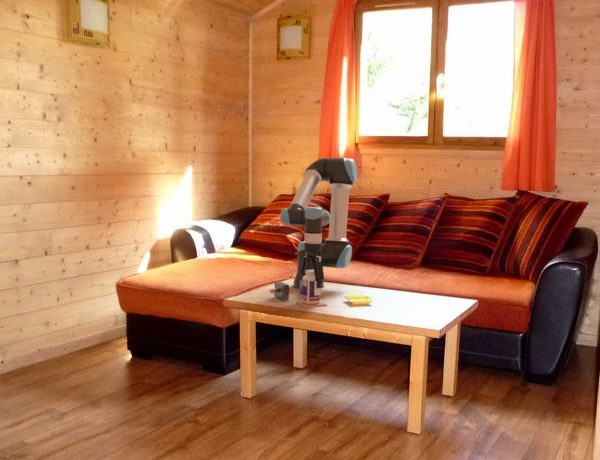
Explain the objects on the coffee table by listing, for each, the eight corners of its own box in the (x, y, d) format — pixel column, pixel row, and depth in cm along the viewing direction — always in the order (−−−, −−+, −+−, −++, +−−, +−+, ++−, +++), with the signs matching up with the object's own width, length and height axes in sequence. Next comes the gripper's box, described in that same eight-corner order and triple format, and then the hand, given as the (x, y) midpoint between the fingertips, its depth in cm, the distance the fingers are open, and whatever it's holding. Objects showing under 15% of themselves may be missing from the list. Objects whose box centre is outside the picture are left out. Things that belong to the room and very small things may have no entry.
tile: (315, 300, 288) (315, 299, 288) (326, 305, 279) (326, 304, 279) (296, 302, 284) (296, 301, 284) (306, 307, 275) (306, 306, 275)
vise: (312, 293, 304) (312, 279, 303) (321, 297, 296) (322, 282, 295) (266, 297, 293) (266, 282, 292) (274, 301, 285) (274, 286, 284)
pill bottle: (322, 301, 284) (323, 269, 283) (317, 305, 277) (318, 272, 275) (304, 299, 287) (305, 268, 285) (299, 303, 279) (300, 271, 277)
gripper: (293, 239, 287) (292, 288, 289) (317, 246, 267) (316, 298, 269) (308, 238, 290) (307, 287, 293) (333, 245, 270) (331, 297, 273)
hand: (311, 292), depth 281 cm, fingers open, 10 cm apart
